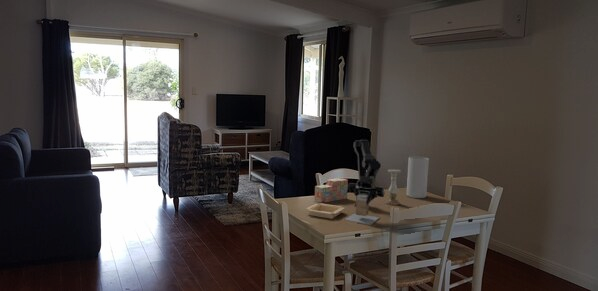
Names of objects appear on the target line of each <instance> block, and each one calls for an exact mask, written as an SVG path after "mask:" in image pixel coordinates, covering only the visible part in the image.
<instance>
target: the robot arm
mask: <svg viewBox="0 0 598 291" xmlns="http://www.w3.org/2000/svg"><path fill="white" fill-rule="evenodd" d="M352 145H353V147H352V148H353V149H354V152H355V154H356V156H357V171H358V180H357V182H356V183H353V182H350V183H349V182H348V190H349V193H351V194H353V195H354V196H356V197H355V198H356V200H355V201H356V203H355V204H354V207H356V204H357V195H359V194H365V195H369V197H368V200H367V203H366V204H367V205H368V204H369V205H370V203H371V202H372V201H373V200H374V199H375V198H379V197H380V198H384V197H385V194H386V193H385V190H384V187H383V186H377V185H376V186H375V181H376V178H377V175H378V173H379V172H380V169H381V166H382V165H381V163H380V162H379V161H378V160H377V159H376V157H375V156H374V155H373V154H372V150H371V147H370V141H369V140H368V139H360V140H359V139H358V140H357V139H356V140H355V141H354V142H353V144H352ZM374 186H375V187H374ZM373 187H374V188H373Z"/></svg>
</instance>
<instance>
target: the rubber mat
mask: <svg viewBox="0 0 598 291" xmlns="http://www.w3.org/2000/svg"><path fill="white" fill-rule="evenodd" d="M379 219H380V217H378V216H372V215H366V216H361V215H356V213H352V214H351V215H349V216H348V217H346V218H344V221H348V222H349V221H350V222H354V223H357V224H362V225H368V226H371V225H373V224H374V223H376V222H377V221H378V220H379Z"/></svg>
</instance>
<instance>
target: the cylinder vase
mask: <svg viewBox="0 0 598 291" xmlns="http://www.w3.org/2000/svg"><path fill="white" fill-rule="evenodd" d="M429 161H430V158H428V157H423V156H409V157H408V164H407V179H406V180H407V181H406V182H407V183H406V196H407V197H409V198H413V199H425V198H426V197H427V194H428V193H427V192H428V190H427V189H428V176H429V175H428V174H429Z"/></svg>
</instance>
